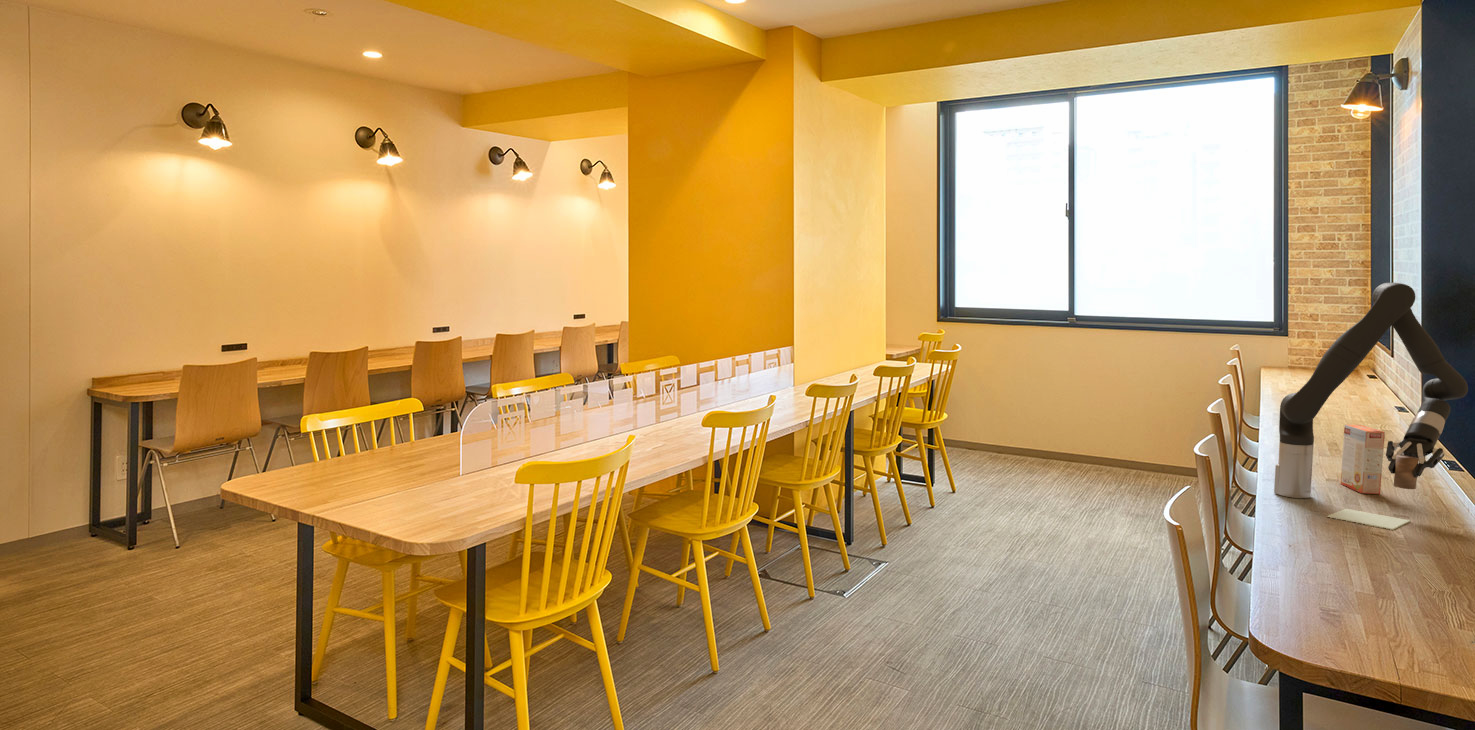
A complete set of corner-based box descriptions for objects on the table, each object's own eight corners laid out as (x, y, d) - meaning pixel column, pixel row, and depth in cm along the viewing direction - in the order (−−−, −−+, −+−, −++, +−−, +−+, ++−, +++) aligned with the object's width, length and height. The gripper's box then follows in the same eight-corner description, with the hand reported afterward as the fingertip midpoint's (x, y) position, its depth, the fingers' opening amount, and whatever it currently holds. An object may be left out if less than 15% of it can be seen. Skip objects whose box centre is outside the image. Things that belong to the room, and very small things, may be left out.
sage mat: (1327, 517, 250) (1327, 516, 250) (1345, 509, 258) (1345, 508, 258) (1392, 530, 237) (1392, 528, 237) (1410, 521, 245) (1410, 520, 245)
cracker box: (1381, 494, 275) (1386, 431, 273) (1360, 494, 276) (1365, 430, 274) (1359, 484, 289) (1363, 424, 287) (1339, 484, 290) (1343, 423, 288)
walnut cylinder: (1390, 486, 250) (1393, 456, 249) (1397, 484, 253) (1399, 454, 252) (1412, 490, 246) (1415, 459, 245) (1418, 487, 249) (1421, 457, 248)
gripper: (1393, 418, 257) (1371, 461, 252) (1451, 425, 245) (1429, 470, 240) (1399, 433, 261) (1378, 476, 256) (1457, 441, 248) (1436, 486, 243)
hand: (1403, 473), depth 248 cm, fingers closed on walnut cylinder, 5 cm apart
